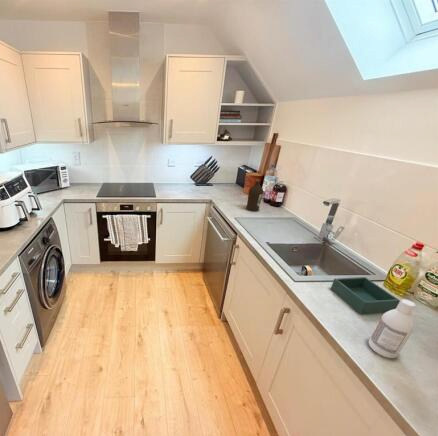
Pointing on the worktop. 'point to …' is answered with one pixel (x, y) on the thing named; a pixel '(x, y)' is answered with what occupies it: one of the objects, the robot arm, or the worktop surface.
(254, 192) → the olive oil
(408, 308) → the bath foam
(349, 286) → the tray
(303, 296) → the worktop surface
